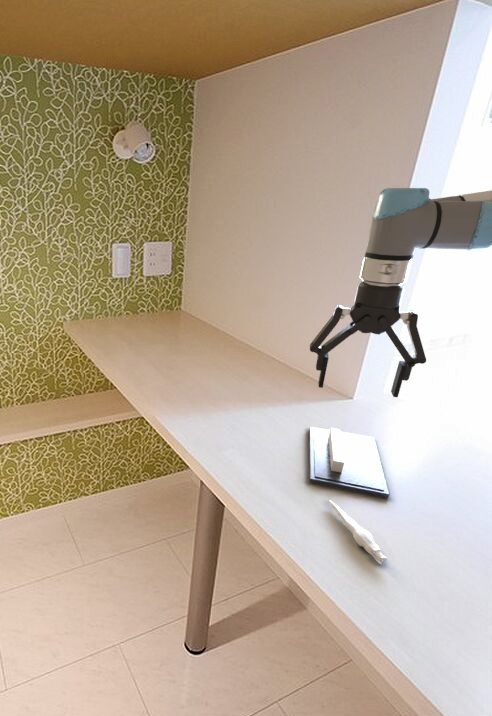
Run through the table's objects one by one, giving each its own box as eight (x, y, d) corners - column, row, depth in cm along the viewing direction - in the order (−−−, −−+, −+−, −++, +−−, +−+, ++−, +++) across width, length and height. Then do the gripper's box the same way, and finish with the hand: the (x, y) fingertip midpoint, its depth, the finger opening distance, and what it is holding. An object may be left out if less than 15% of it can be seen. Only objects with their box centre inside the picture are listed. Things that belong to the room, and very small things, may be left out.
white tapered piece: (390, 565, 67) (394, 556, 66) (375, 568, 66) (378, 559, 66) (334, 502, 80) (336, 494, 79) (321, 504, 80) (323, 496, 79)
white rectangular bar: (337, 435, 100) (339, 426, 99) (341, 472, 87) (344, 462, 86) (328, 433, 101) (330, 424, 100) (331, 470, 87) (333, 460, 86)
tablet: (373, 440, 100) (374, 436, 100) (388, 498, 81) (389, 493, 81) (309, 430, 104) (310, 425, 104) (309, 482, 86) (310, 477, 85)
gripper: (308, 281, 78) (291, 388, 88) (469, 291, 71) (431, 406, 80) (308, 274, 85) (292, 374, 94) (455, 283, 78) (422, 390, 87)
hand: (356, 389), depth 87 cm, fingers open, 13 cm apart
